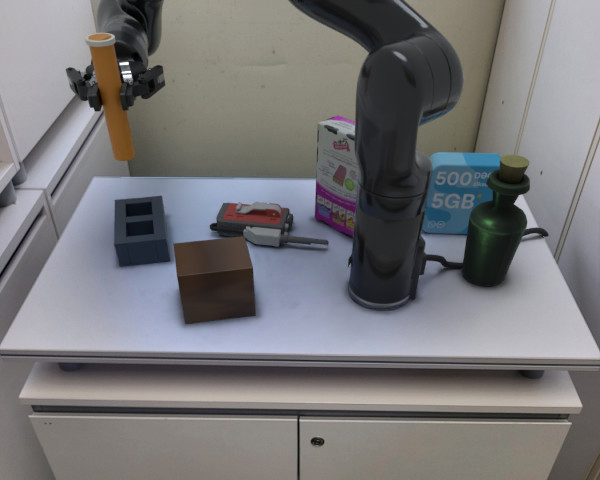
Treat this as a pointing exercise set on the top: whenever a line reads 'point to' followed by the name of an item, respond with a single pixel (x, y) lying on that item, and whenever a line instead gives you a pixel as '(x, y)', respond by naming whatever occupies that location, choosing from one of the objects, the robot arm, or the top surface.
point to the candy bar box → (336, 174)
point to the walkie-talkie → (259, 224)
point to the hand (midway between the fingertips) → (109, 103)
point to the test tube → (111, 94)
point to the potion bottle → (497, 224)
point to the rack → (140, 231)
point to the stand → (215, 279)
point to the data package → (457, 189)
